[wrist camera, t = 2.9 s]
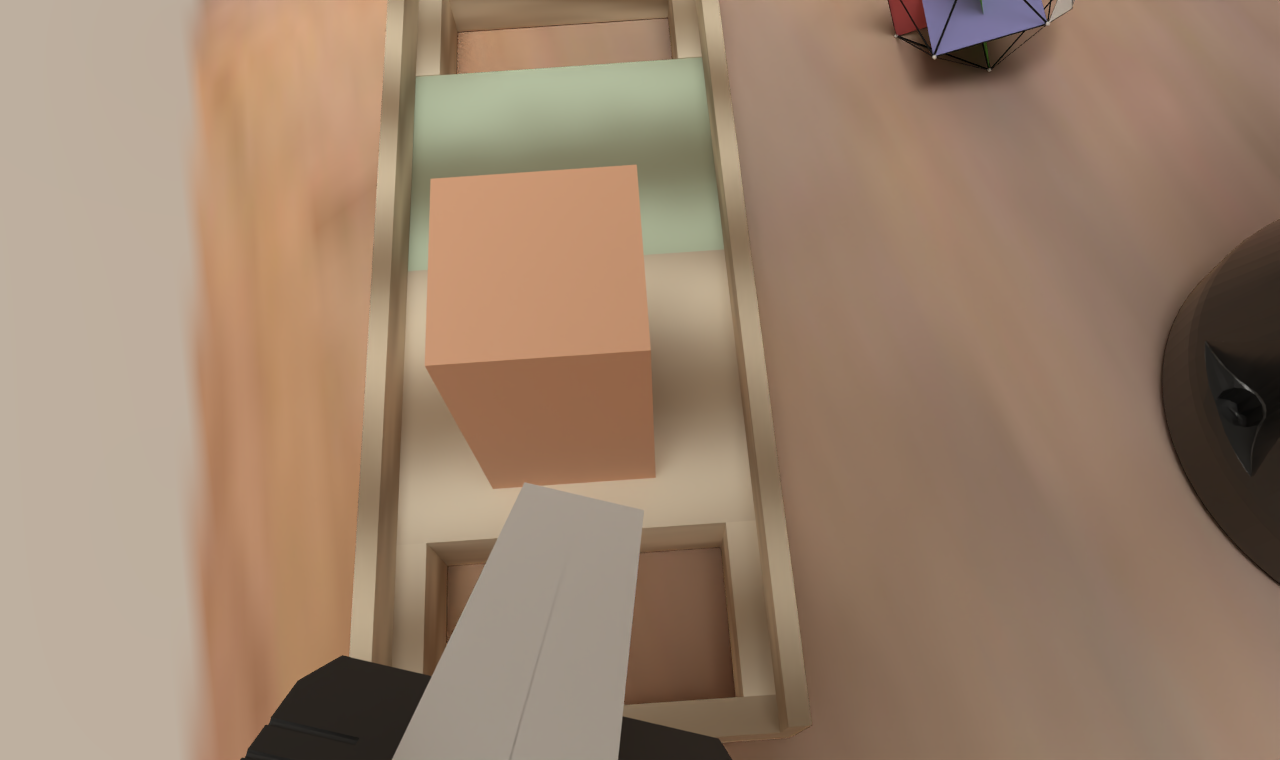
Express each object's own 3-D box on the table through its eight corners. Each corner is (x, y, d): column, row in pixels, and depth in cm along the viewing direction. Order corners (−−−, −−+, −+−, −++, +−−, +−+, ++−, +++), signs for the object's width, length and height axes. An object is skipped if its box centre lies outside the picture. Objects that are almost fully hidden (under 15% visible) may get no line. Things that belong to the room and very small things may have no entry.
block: (492, 342, 31) (430, 178, 23) (644, 332, 31) (636, 164, 23) (492, 488, 29) (424, 365, 21) (655, 477, 29) (650, 350, 21)
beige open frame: (423, 16, 41) (392, -82, 37) (701, -3, 41) (704, -104, 37) (394, 765, 29) (343, 758, 24) (789, 738, 29) (811, 725, 24)
